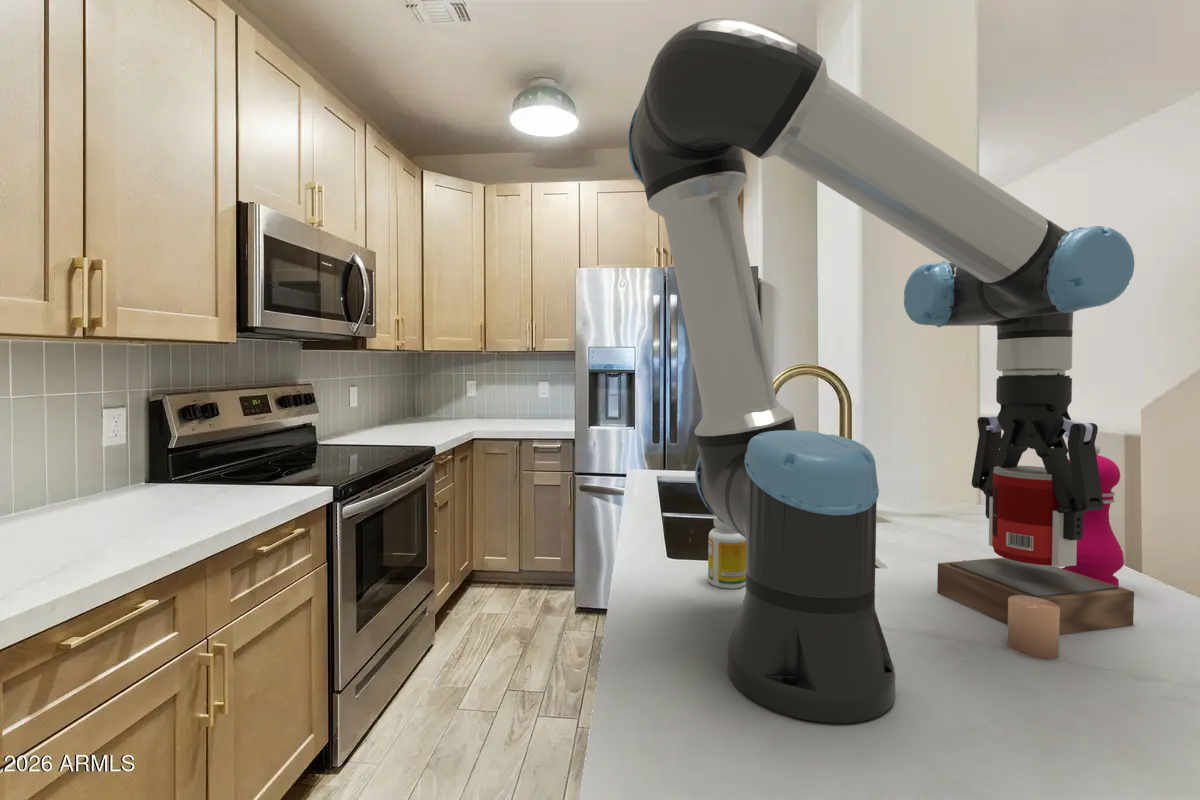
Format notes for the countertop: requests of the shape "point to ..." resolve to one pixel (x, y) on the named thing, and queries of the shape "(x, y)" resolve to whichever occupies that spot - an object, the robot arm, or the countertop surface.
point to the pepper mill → (1100, 532)
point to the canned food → (1023, 514)
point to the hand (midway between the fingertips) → (1029, 554)
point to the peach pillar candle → (1033, 626)
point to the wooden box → (1036, 592)
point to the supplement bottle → (726, 557)
